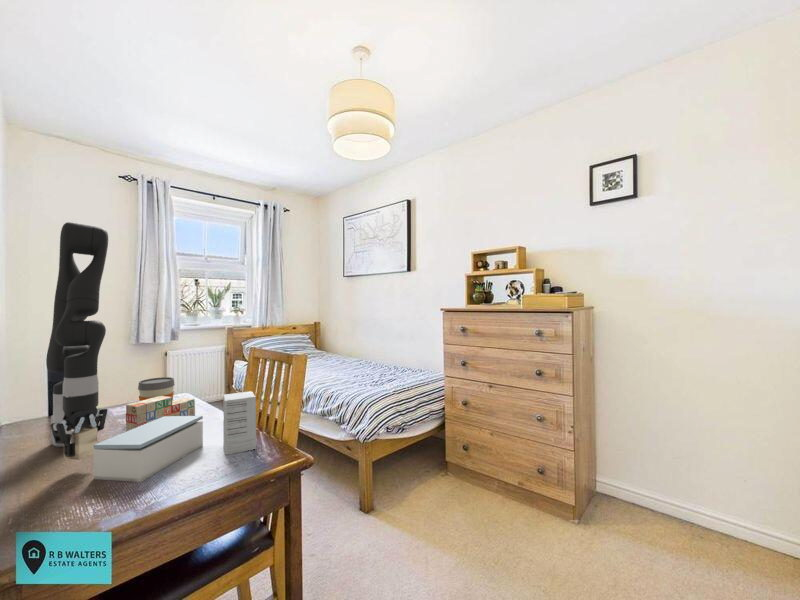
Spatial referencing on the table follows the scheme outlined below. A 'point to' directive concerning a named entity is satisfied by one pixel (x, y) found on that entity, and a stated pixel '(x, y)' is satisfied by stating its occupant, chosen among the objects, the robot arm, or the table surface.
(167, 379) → the reusable coffee cup
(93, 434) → the beech block
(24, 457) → the table surface
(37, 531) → the table surface
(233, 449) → the supplement box
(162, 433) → the box lid
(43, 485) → the table surface
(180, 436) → the storage box
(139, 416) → the stack of blocks
